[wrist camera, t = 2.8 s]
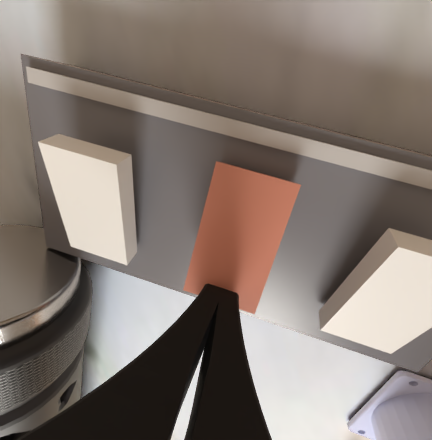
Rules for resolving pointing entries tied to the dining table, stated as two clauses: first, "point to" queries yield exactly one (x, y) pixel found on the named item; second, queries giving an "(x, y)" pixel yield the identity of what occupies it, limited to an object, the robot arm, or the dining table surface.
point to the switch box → (245, 158)
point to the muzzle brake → (39, 329)
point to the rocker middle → (240, 232)
